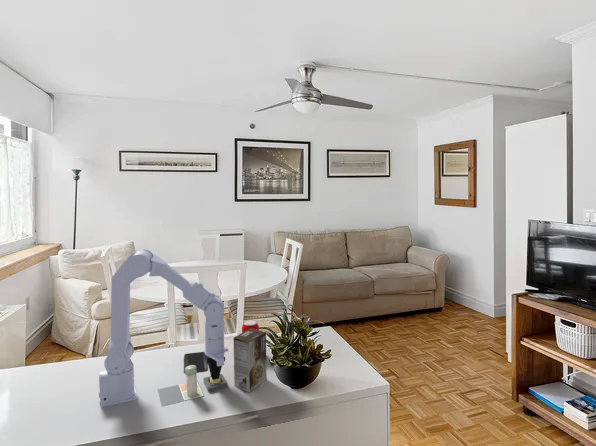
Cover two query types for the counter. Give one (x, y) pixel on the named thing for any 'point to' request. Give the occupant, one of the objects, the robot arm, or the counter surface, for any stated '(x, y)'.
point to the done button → (215, 381)
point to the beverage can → (249, 325)
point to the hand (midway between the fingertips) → (215, 378)
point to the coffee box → (250, 359)
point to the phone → (196, 361)
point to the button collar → (215, 386)
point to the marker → (191, 380)
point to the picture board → (177, 394)
